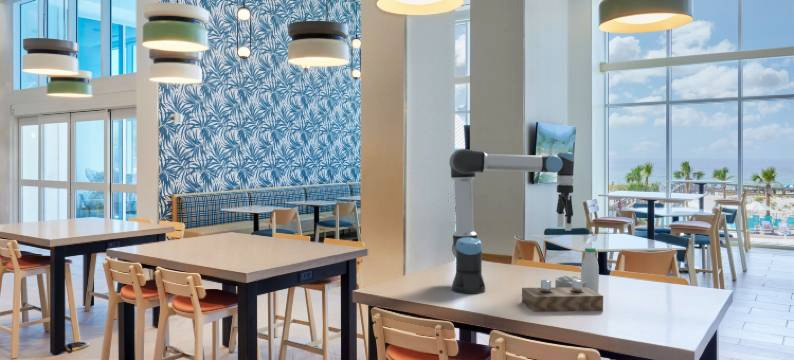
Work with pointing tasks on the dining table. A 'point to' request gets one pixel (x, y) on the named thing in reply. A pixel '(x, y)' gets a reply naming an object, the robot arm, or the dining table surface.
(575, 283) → the steel peg
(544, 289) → the steel peg
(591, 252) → the milk bottle
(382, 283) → the dining table surface
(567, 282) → the lumpy-topped squat cylinder
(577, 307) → the walnut block
